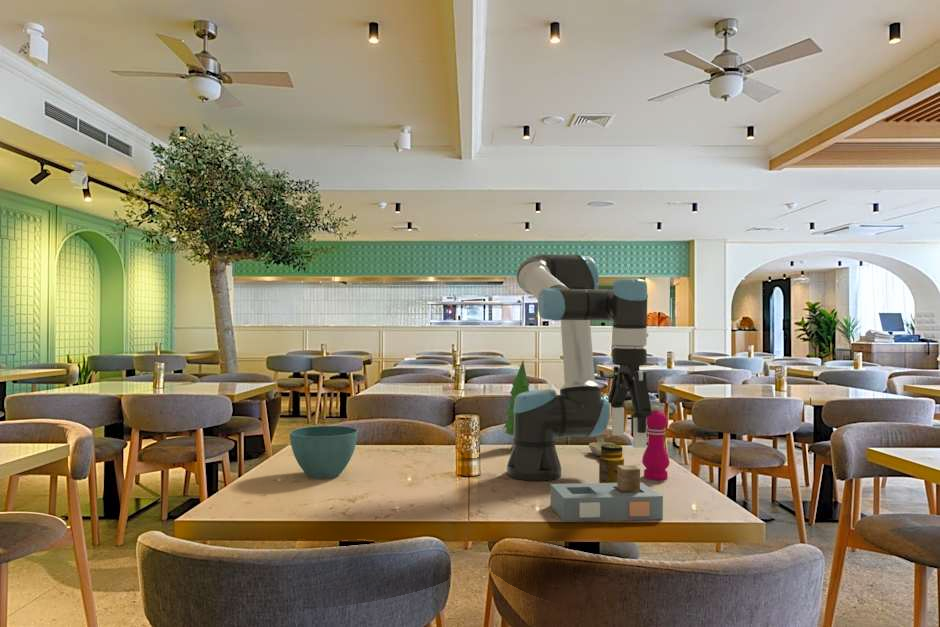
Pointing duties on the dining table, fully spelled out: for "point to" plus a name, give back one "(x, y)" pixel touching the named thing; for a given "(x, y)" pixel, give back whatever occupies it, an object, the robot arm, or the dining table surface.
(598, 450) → the oil lamp
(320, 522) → the dining table surface
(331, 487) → the dining table surface
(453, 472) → the dining table surface
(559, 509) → the socket block
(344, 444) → the plant pot
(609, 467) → the condiment
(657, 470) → the pepper mill
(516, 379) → the decorative tree
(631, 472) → the plug
